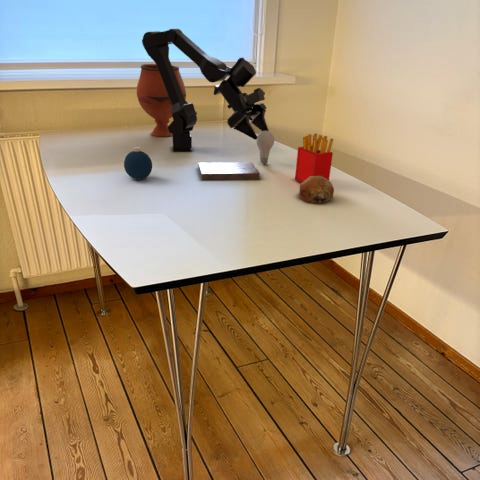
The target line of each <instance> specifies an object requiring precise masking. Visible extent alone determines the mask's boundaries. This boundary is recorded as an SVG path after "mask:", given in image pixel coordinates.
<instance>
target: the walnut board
mask: <svg viewBox="0 0 480 480" xmlns="http://www.w3.org/2000/svg"><path fill="white" fill-rule="evenodd" d="M197 167H198V168H197V169H198V172H199V175H200V178H201V179H200V180H201V181H254V180H255V181H256V180H260V172H259V171H258V169H257V168H256V166H255V164H254V163H253V162H198V163H197Z"/></svg>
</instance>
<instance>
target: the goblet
mask: <svg viewBox="0 0 480 480" xmlns="http://www.w3.org/2000/svg"><path fill="white" fill-rule="evenodd" d="M172 67H173V70H174V73H175V75H176V78H177V80H178V83H179V86H180V88H181V91H182V93H183V96H184V99H185V100H186V99H187V90H186V86H185V82H184V80H183V77H182V75H181V72H180V67H179V66H175V65H172ZM136 97H137V100H138V103H139V105H140V107H141V108H142V110H143V111H144V112H145V113H146V114H147V115H148V116H149V117H151V118H153V119H154V123H155V124H156V125H155V127H154V128H153V129H152V132H151V134H152V135H153V136H155V137H172V133H169V130H168V126H169V125H168V124H169V123H170V119H173V117H172V103H171V101H170V98H169V96H168V93H167V91H166V88H165V85H164V83H163V80H162V78H161V75H160V73H159V70H158V68H157V65H156V63H144V64H141V65H140V73H139V78H138V82H137V86H136ZM186 101H187V100H186Z"/></svg>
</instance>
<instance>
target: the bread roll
mask: <svg viewBox="0 0 480 480" xmlns="http://www.w3.org/2000/svg"><path fill="white" fill-rule="evenodd" d="M298 192H299V193H298V195H299V199H300V200H301V201H303V202H306V203H310V204H318V205H319V204H320V205H321V204H326V203H328V202H330V201H331V200H332V199H333V197H334V193H335V191H334V185H333V183H332V182H331V181H330V179H329V180H328V179H326V178H324V177H321V176H309V177H308V179H306V180H305V181H304V182H302V183H301V182H300V185H299V191H298Z"/></svg>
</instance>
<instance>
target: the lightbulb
mask: <svg viewBox="0 0 480 480" xmlns="http://www.w3.org/2000/svg"><path fill="white" fill-rule="evenodd" d="M256 135H257V137H258V138H257V139H256V140H255V141H256V145H257V149H258V151H259V159H260V160H259V162H260V163H261V164H262V165H266V164H267V163H269V157H270V152H271V150H272V148H273V146H274V145H275V136H274V134H273V133H272V132H271V131H270V130H269V131H260V132H259V133H258V134H256Z"/></svg>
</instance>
